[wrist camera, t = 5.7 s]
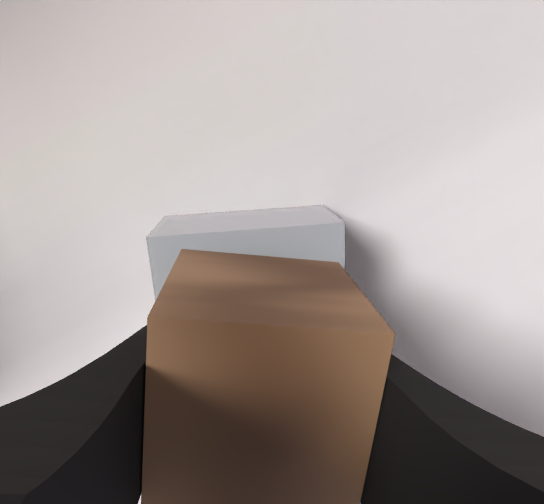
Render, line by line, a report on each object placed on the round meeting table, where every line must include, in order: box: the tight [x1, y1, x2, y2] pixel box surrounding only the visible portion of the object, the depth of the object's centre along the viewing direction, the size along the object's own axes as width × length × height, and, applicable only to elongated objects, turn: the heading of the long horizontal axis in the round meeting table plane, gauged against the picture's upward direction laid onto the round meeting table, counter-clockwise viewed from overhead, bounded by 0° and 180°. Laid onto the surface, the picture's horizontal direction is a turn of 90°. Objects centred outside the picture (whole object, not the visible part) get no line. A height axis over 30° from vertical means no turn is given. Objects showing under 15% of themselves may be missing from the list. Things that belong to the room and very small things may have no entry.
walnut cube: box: [141, 249, 395, 504], centre depth 10 cm, size 4×4×4 cm
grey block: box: [146, 205, 345, 301], centre depth 15 cm, size 6×6×4 cm
